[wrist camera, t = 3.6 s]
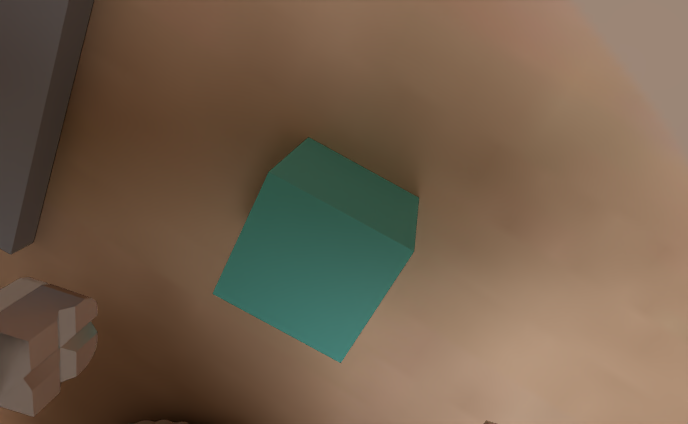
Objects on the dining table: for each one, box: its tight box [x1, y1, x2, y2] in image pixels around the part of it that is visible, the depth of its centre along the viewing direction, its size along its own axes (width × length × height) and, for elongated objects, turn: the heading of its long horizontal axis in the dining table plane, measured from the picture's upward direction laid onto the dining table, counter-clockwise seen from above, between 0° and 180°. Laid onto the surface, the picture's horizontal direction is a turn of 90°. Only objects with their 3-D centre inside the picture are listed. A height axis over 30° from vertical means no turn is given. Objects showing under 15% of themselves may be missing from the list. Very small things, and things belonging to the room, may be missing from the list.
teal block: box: [213, 137, 419, 363], centre depth 16 cm, size 4×4×4 cm
